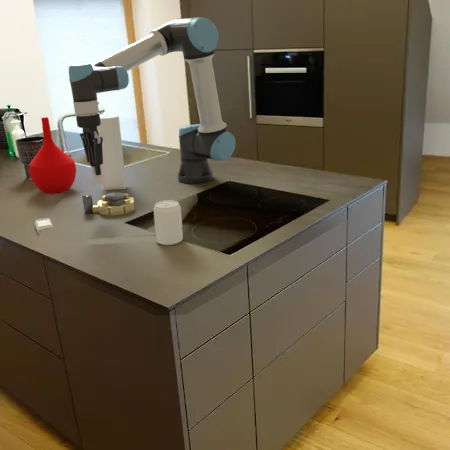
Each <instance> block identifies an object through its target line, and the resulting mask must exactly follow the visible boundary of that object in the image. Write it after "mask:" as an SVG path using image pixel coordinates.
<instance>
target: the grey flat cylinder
mask: <svg viewBox="0 0 450 450" xmlns="http://www.w3.org/2000/svg"><path fill="white" fill-rule="evenodd" d="M124 197H125V192H121V191H118V192H110V193H107V194H105V198H106V199H107V200H108V204H109V205H111V206H112V205H121V204H124V203H123V200H124Z"/></svg>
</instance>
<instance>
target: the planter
mask: <svg viewBox="0 0 450 450" xmlns="http://www.w3.org/2000/svg"><path fill="white" fill-rule="evenodd" d="M43 143H44V136H40V135H38V136H37V135H35V136H27V137H26V136H25V137H20V138H17V139H16V140H15V146H16V151H17V155H18V159H19V162H20V163H21V164H23V167H24V172H25V177H26V178H27V179H31V177H30V175H29V164H30V163H31V161H32V160H33V159H34V157H35V156H36V155H37V153H38V152H39V150H40V149H41V147H42V146H43Z"/></svg>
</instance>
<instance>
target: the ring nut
mask: <svg viewBox="0 0 450 450" xmlns="http://www.w3.org/2000/svg"><path fill="white" fill-rule="evenodd" d="M124 194H125V197H124V200H123V203H124V204H121V205H112V206H111V205H109V204H108V200H107V199H106V198H105V195H106V194H105V195H101V199H99V200H98V201H97V205H94V203H93V196H92V194H84V195H82V197H81V198H82V205H83V211H84V214H85V215H89V214H90V215H91V214H97V213H98V214H99V215H103V216H109V217H110V216H111V217H113V216H120V215H126V214H128V213H131V212H134V211H135V209H136V207H135V201H134V197H132V196H130V195H129V194H130V193H125V192H124Z"/></svg>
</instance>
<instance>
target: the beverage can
mask: <svg viewBox="0 0 450 450" xmlns="http://www.w3.org/2000/svg"><path fill="white" fill-rule="evenodd" d="M153 218H154V231H155V240H156V243H158V244H160V245H163V246H172V245H176V244H177V245H178V244H179V243H181V242H182V241H183V238H184V237H183V236H184V234H183V221H182V219H183V218H182V207H181V205H180V203H179V201H177V200H173V199H169V200H167V199H166V200H165V199H164V200H160V201H157V202H156V203H154V207H153Z"/></svg>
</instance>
